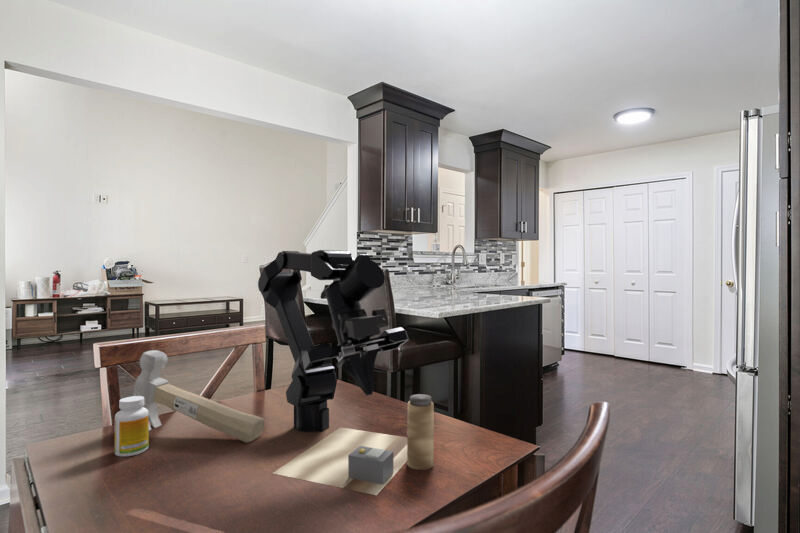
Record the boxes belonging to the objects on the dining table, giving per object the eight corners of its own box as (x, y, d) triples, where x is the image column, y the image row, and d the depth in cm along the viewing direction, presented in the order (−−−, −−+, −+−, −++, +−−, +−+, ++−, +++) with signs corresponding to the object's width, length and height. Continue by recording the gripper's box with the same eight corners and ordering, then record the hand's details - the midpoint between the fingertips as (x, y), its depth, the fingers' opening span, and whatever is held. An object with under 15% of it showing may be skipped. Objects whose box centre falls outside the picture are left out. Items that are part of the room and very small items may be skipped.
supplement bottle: (155, 448, 83) (155, 396, 83) (126, 459, 78) (127, 404, 78) (136, 443, 85) (136, 393, 85) (107, 454, 80) (107, 400, 80)
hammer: (272, 390, 87) (156, 348, 96) (257, 397, 82) (137, 352, 91) (256, 465, 88) (143, 417, 97) (241, 476, 83) (124, 424, 92)
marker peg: (403, 471, 73) (403, 399, 73) (412, 461, 77) (413, 392, 77) (428, 476, 71) (428, 402, 71) (436, 465, 75) (437, 395, 75)
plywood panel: (272, 478, 71) (272, 473, 71) (340, 431, 91) (340, 427, 91) (376, 500, 64) (376, 495, 64) (425, 444, 84) (425, 440, 84)
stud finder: (348, 477, 69) (348, 453, 69) (360, 466, 73) (360, 444, 73) (383, 484, 67) (383, 459, 67) (393, 473, 71) (393, 449, 71)
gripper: (305, 303, 70) (329, 400, 65) (406, 286, 79) (435, 371, 74) (293, 326, 80) (313, 412, 74) (385, 309, 88) (409, 385, 83)
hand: (369, 395), depth 76 cm, fingers closed
